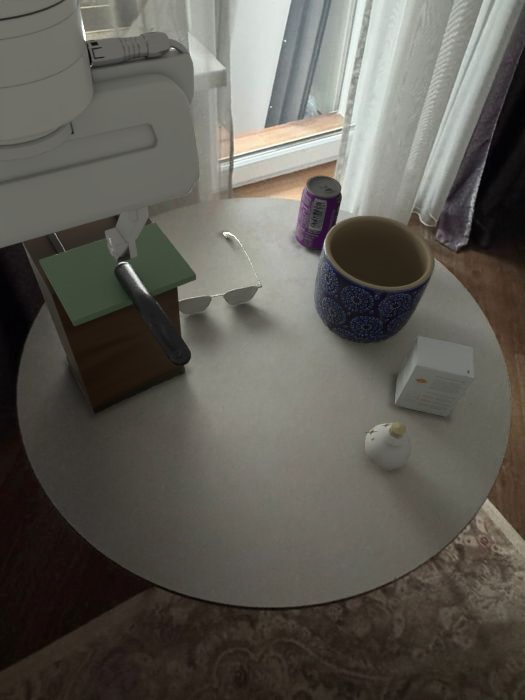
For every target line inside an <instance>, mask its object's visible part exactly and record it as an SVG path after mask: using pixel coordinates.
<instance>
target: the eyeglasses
mask: <svg viewBox="0 0 525 700" xmlns="http://www.w3.org/2000/svg"><path fill="white" fill-rule="evenodd" d="M222 235H223V236H224V237H225V238H227V239H228V238H229V237H233V238H234V239H235V240H236V241H237V242H238V243H239V245H240V246H241V248H242V250H243V251H244V253H245V255H246V258H247V259H248V261H249V263H250V265H251V267H252V270H253V273H254V275H255V277H256V279H257V285H247V286H242V287H238V288H234V289H230V290H226V291H225V292H224V293H216V294H213V295H208V294H205V295H197V296H192V297H187V298H182V299H178V300H179V313H181V314H183V315H194V314H198V313H199V314H200V313H202V312H204V311H206V310H207V308H208V307H209V306H210V305H211V302H212V298H215V297H220V296H222V298H223V299H224V300H225V302H226V303H227V304H228V305H230V306H237V305H242V304H246V303H248V302H250V301H251V300H253V298H254V297H255V296H256V294H257V292H258V290H259V289H262V288H263V285H262V282H261V280H260V279H259V278H258V276H257V275H258V274H257V273H256V270H255V268H254V266H253V264H252V261H251V259H250V257H249V255H248V253H247V252H246V250H245V248H244V247H245V246H244V245H243V244H242V242H241V241H240V240H239V238H238V237H237V236H235V235H234V234H233V233H231V232H228V231H224V232H223V233H222Z"/></svg>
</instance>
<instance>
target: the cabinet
mask: <svg viewBox="0 0 525 700" xmlns="http://www.w3.org/2000/svg"><path fill="white" fill-rule="evenodd" d="M119 216H120V214H118V215H115V216H111V217H108V218H104V219H101V220H97V221H94V222H90V223H87V224H83V225H80V226H76V227H73V228H69V229H66V230H62V231H59V232H55V233H52V234H48V235H45V236H41V237H38V238H34V239H31V240H27V241H24V242H21V243H22V246H23V248H24V251H25V253H26V256H27V259H28V261H29V263H30V266H31V268H32V271H33V273H34V276H35V278H36V281H37V284H38V287H39V289H40V292H41V295H42V297H43V299H44V303H45V304H46V308H47V310H48V312H49V315H50V317H51V320H52V323H53V325H54V328H55V331H56V333H57V336H58V338H59V341H60V343H61V346H62V348H63V351H64V354H65V356H66V361H67V363H68V365H69V367H70V370H71V371H72V373H73V375H74V377H75V379H76V381H77V383H78V384H79V387H80V389H81V390H82V393H83V394H84V396H85V398H86V400H87V402H88V404H89V406H90V408H91V410H92V412H93V414H94V415H96V414H98V413H100V412H103V411H104V410H106V409H110V408H111V407H113V406H116V405H118V404H119V403H122V402H125V401H126V400H128V399H130V398H133V397H135V396H137V395H139V394H142V393H144V392H145V391H148V390H151V389H152V388H154V387H157V386H159V385H161V384H163V383H165V382H168V381H170V380H172V379H174V378H176V377H178V376H180V375H182V374H185V373H186V365H184V366H176V365H174V364H173V363H172V362H171V361H170V360H169V358H168V357H167V355H166V354H165V352H164V350H163V349H162V347H161V346H160V344H159V343H158V341H157V340H156V338H155V337H154V335H153V334H152V332H151V331H150V329H149V327H148V326H147V324H146V323H145V321H144V320H143V318H142V317H141V315H140V314H139V312H138V311H137V309H136V307H135V306H134V304H132V305H129V306H126V307H124V308H121V309H119V310H116V311H113V312H111V313H108V314H106V315H103V316H100V317H98V318H95V319H93V320H90V321H87V322H85V323H82V324H80V325H77V326H74V325H73V323H72V321H71V320H70V318H69V316H68V314H67V312H66V310H65V309H64V307H63V305H62V303H61V301H60V300H59V298H58V296H57V294H56V292H55V290H54V289H53V287H52V285H51V283H50V281H49V279H48V278H47V276H46V274H45V272H44V270H43V268H42V267H41V265H40V262H39V260H41V259H44V258H47V257H50V256H53V255H56V254H59V253H62V252H65V251H68V250H71V249H74V248H78V247H81V246H84V245H87V244H90V243H93V242H96V241H99V240H102V239H105V238H106V236H105V231H106V230H109V229H112V228H115V227H116V224H117V222H118V219H119ZM151 223H153V221H152V219H150V217H148V219H147V221H146V223H145V225H148V224H151ZM145 225H144V226H145ZM153 297H154V298H155V300H156V301H157V302H158V304H159V305H160V307H161V308H162V310H163V311H164V313H165V314H166V316H167V317H168V318H169V320H170V321H171V323H172V324H173V326H174V327H175V329H176V330H177V332H178V333H179V334H180V336H181V337H182V325H181V314H180V313H181V312H180V311H179V300H180V299H179V289H178V287H176V288H173V289H170V290H168V291H165V292H163V293H160V294H158V295H155V296H153Z"/></svg>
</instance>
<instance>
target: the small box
mask: <svg viewBox="0 0 525 700" xmlns="http://www.w3.org/2000/svg"><path fill="white" fill-rule="evenodd" d="M474 362H475V361H474V347H473V346H469V345H465V344H460V343H455V342H450V341H446V340H440V339H436V338H432V337H427V336H422V335H417V336H416V337H415V339H414V341H413V344H412V345H411V347H410V349H409V352H408V353H407V355H406V357H405V359H404V361H403V363H402V365H401V367H400V370H399V371H398V374H397V375H396V382H395V395H394V406H395V407H400V408H405V409H408V410H414V411H418V412H423V413H427V414H431V415H436V416H440V417H444V418H447V417H448V416H449V415H450V414H451V413H452V411H453V409H454V408H455V407H456V405H457V404H458V403H459V401H460V400H461V399H462V397H463V396H464V395H465V393H466V391H467V390H468V388H469V387H471V384H472V383H473V382H474V380H475V368H474V367H475V366H474V365H475V364H474Z"/></svg>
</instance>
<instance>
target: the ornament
mask: <svg viewBox="0 0 525 700" xmlns="http://www.w3.org/2000/svg"><path fill="white" fill-rule="evenodd" d="M364 433H365V434H366V436H365V439H364V451H365V455H366V456H367V459H368V460H369V461H370V462H371V463H372V464H373V465H375V467H378V468H380V469H383V470H394V469H398V468H400V467H402V466H403V465H404V464H405V463H407V461H408V460H409V458H410V456H411V452H412V442H411V439H410V436H409V435H408V433H407V429H406V426H405V424H404V423H403V422H400V421H394V422H391V423H389V422H387V423H381V424H377V425H375V426H374V427H372V428H371V429H370V430H369V431H366V432H364Z"/></svg>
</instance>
